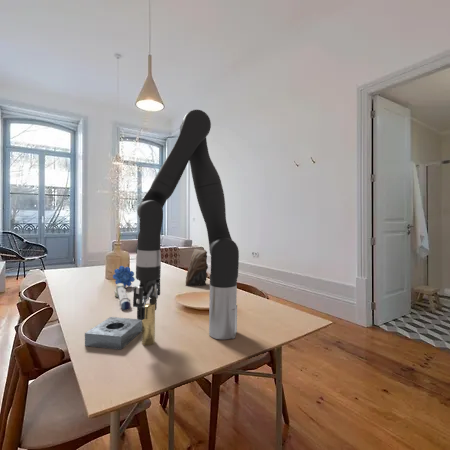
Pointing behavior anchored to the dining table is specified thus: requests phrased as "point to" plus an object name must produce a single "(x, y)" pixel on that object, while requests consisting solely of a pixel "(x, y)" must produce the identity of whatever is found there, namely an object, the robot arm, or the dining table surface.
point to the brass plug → (148, 325)
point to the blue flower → (123, 276)
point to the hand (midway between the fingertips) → (147, 314)
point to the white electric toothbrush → (122, 296)
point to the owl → (197, 269)
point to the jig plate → (113, 333)
